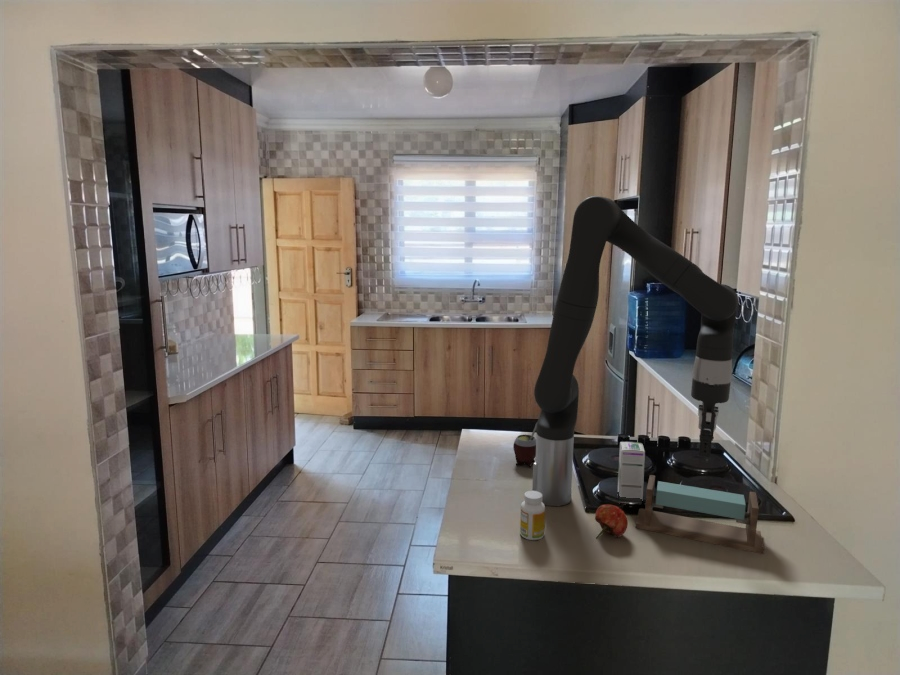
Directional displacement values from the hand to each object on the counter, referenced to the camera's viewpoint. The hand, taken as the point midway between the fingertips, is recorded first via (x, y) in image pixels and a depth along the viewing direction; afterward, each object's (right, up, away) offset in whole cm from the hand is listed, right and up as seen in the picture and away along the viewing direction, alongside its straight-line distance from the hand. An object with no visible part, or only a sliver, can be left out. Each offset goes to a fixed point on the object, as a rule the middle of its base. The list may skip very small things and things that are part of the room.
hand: (704, 448), depth 126 cm
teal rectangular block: (0, -14, +3) cm, 14 cm away
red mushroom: (-20, -20, +2) cm, 29 cm away
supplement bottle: (-38, -20, +3) cm, 43 cm away
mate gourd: (-34, -12, +40) cm, 54 cm away
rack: (0, -20, +4) cm, 20 cm away
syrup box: (-11, -17, +19) cm, 27 cm away
